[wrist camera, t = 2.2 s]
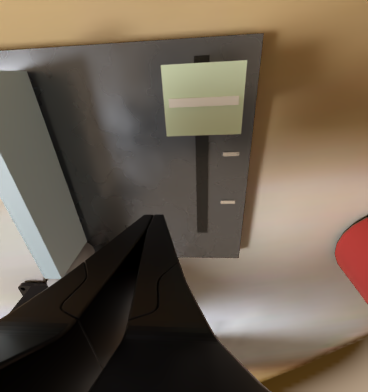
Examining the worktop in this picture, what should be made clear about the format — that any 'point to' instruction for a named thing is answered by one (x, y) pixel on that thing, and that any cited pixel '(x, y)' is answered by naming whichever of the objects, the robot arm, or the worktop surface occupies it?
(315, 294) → the worktop surface
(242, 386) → the robot arm
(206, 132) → the fader knob
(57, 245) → the door
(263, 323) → the worktop surface
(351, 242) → the beer can
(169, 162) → the console
